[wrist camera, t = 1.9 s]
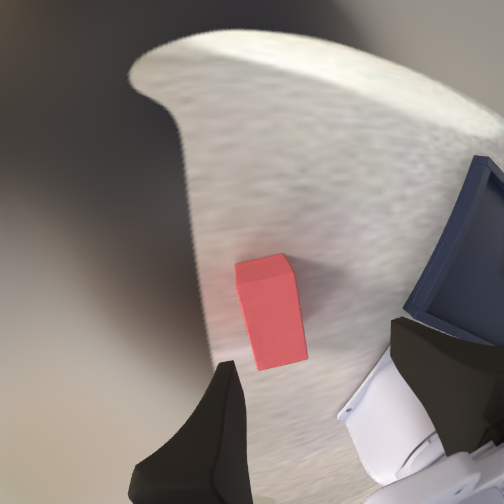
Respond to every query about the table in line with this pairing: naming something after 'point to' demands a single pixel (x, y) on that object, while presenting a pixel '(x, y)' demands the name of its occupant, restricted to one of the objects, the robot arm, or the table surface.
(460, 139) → the table surface
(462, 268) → the tray
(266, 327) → the eraser
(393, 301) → the table surface
